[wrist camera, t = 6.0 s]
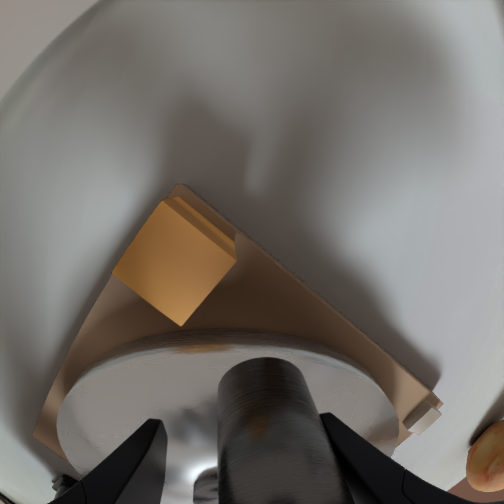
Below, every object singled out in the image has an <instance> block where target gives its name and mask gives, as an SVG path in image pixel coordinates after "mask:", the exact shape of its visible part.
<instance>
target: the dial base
mask: <svg viewBox="0 0 504 504" xmlns="http://www.w3.org/2000/svg"><path fill="white" fill-rule="evenodd" d="M112 274H113V275H112V276H111V278H110V279H109V281H108V283H107V284H106V286H105V287H104V289H103V291H102V292H101V294H100V296H99V297H98V299H97V301H96V302H95V304H94V306H93V307H92V309H91V311H90V313H89V314H88V316H87V318H86V320H85V321H84V323H83V325H82V327H81V329H80V331H79V332H78V334H77V336H76V338H75V340H74V342H73V344H72V346H71V348H70V349H69V351H68V353H67V355H66V357H65V359H64V361H63V363H62V366H61V368H60V370H59V372H58V374H57V376H56V378H55V380H54V383H53V385H52V387H51V389H50V391H49V394H48V396H47V398H46V401H45V403H44V405H43V408H42V410H41V413H40V415H39V418H38V420H37V423H36V426H35V428H34V431H33V434H32V436H33V437H34V438H35V439H36V440H38V441H39V442H40V443H42V444H43V445H44V446H46V447H47V448H49V449H50V450H52V451H53V452H54V453H56V454H57V455H59V456H60V457H62V458H63V459H65V460H66V461H68V459H67V457H66V455H65V454H64V452H63V450H62V447H61V445H60V442H59V439H58V434H57V416H58V412H59V410H60V407H61V405H62V402H63V401H64V399H65V397H66V396H67V394H68V393H69V391H70V390H71V388H72V386H73V385H74V383H75V382H76V380H77V379H78V378H79V376H80V375H81V374H82V373H83V371H84V370H85V369H86V368H87V366H89V365H90V364H91V363H92V362H94V361H95V360H96V359H97V358H99V357H100V356H101V355H103V354H105V353H107V352H109V351H110V350H112V349H114V348H116V347H118V346H120V345H123V344H126V343H128V342H131V341H134V340H137V339H140V338H143V337H147V336H152V335H157V334H161V333H166V332H170V331H180V330H189V329H198V328H241V329H254V330H266V331H272V332H277V333H283V334H289V335H295V336H298V337H301V338H305V339H308V340H312V341H315V342H319V343H322V344H324V345H326V346H329V347H331V348H333V349H335V350H338V351H340V352H342V353H344V354H345V355H347V356H348V357H350V358H352V359H353V360H355V361H356V362H358V363H359V364H360V365H361V366H362V367H363V368H365V369H366V370H367V371H368V372H369V373H370V374H371V375H372V377H373V378H374V380H375V381H376V382H377V384H378V385H379V386H380V388H381V389H382V391H383V392H384V393H385V395H386V396H387V397H388V399H389V400H390V402H391V403H392V405H393V406H394V408H395V410H396V413H397V416H398V419H399V436H398V441H397V445H396V447H397V446H398V445H400V444H401V443H402V442H403V441H404V440H406V439H407V438H408V437H409V436H410V435H411V434H412V433H414V434H417V435H421V434H422V433H423V432H424V431H425V430H426V429H427V428H428V427H429V426H430V425H431V424H433V423H434V422H435V421H436V420H437V419H438V418H439V417H440V416H441V415H442V414H441V413H440V412H439V411H438V409H439V408H440V407H441V406H442V405H443V403H442V402H441V401H440V399H439V398H438V397H437V396H436V395H435V394H434V393H433V392H432V391H431V390H430V389H429V388H428V387H426V386H425V385H424V384H423V383H422V382H421V381H419V380H418V379H417V378H416V377H415V376H414V375H412V374H411V373H410V372H409V371H408V370H407V369H406V368H404V367H403V366H402V365H401V364H400V363H399V362H397V361H396V360H395V359H394V358H393V357H391V356H390V355H389V354H388V353H387V352H386V351H384V350H383V349H382V348H381V347H380V346H379V345H377V344H376V343H375V342H374V341H373V340H372V339H370V338H369V337H368V336H367V335H366V334H364V333H363V332H362V331H361V330H360V329H359V328H357V327H356V326H355V325H354V324H353V323H351V322H350V321H349V320H348V319H347V318H346V317H344V316H343V315H342V314H341V313H340V312H338V311H337V310H336V309H335V308H334V307H332V306H331V305H330V304H329V303H328V302H327V301H325V300H324V299H323V298H322V297H321V296H319V295H318V294H317V293H316V292H315V291H313V290H312V289H311V288H310V287H309V286H307V285H306V284H305V283H304V282H303V281H301V280H300V279H299V278H298V277H297V276H295V275H294V274H293V273H292V272H291V271H289V270H288V269H287V268H286V267H285V266H283V265H282V264H281V263H280V262H279V261H277V260H276V259H275V258H274V257H273V256H271V255H270V254H269V253H268V252H267V251H265V250H264V249H263V248H262V247H260V246H259V245H258V244H257V243H256V242H254V241H253V240H252V239H251V238H250V237H248V236H247V235H246V234H245V233H243V232H242V231H241V230H240V229H239V228H237V227H236V226H235V225H234V224H233V223H231V222H230V221H229V220H228V219H226V218H225V217H224V216H223V215H222V214H220V213H219V212H218V211H217V210H215V209H214V208H213V207H212V206H211V205H209V204H208V203H207V202H206V201H204V200H203V199H202V198H201V197H199V196H198V195H197V194H196V193H195V192H193V191H192V190H191V189H190V188H188V187H187V186H186V185H185V184H177V185H176V186H175V187H174V189H173V190H172V191H171V192H170V194H169V195H168V196H167V198H166V199H165V200H162V201H161V202H160V203H159V205H158V206H157V207H156V209H155V210H154V211H153V213H152V214H151V215H150V217H149V218H148V219H147V221H146V222H145V224H144V225H143V226H142V228H141V229H140V231H139V232H138V233H137V235H136V236H135V238H134V239H133V241H132V242H131V244H130V245H129V247H128V248H127V250H126V251H125V253H124V254H123V256H122V257H121V259H120V260H119V262H118V263H117V265H116V266H115V268H114V269H113V271H112ZM396 447H395V448H396ZM68 462H69V461H68Z"/></svg>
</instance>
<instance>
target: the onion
mask: <svg viewBox="0 0 504 504" xmlns="http://www.w3.org/2000/svg"><path fill="white" fill-rule="evenodd" d="M466 476H467V480H468V482H469V483H470V484H471V486H472V487H473V488H474V489H477V490H479V491H485V492H492V491H498V490H501V489H504V420H501V421H499V422H496V423H494V424H492V425H491V426H489V427H488V428H487V429H486V430H485V432H484V433H483V434H482V435H481V436H480V437H479V438H478V439H477V441H476V442H475V443H474V444H473V445H472V447H471V448H470V449H469V451H468V457H467V464H466Z"/></svg>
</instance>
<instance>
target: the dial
mask: <svg viewBox="0 0 504 504" xmlns="http://www.w3.org/2000/svg"><path fill="white" fill-rule="evenodd" d="M326 412H331V413H332V414H334V415H335V416H336V417H337V418H338V419H340V420H341V421H342V422H344V423H345V424H346V425H347V426H349V427H350V428H351V429H352V430H354V431H355V432H356V433H358V434H359V435H360V436H361V437H363V438H364V439H365V440H367V441H368V442H369V443H371V444H372V445H373V446H375V447H376V448H377V449H379V450H380V451H381V452H383V453H384V454H386V455H387V456H388V457H390V458H391V456H392V454H393V452H394V450H395V447H396V445H397V441H398V436H399V419H398V416H397V413H396V410H395V408H394V406H393V405H392V403H391V402H390V400H389V399H388V397H387V396H386V395H385V393H384V392H383V391H382V389H381V388H380V386H379V385H378V384H377V382H376V381H375V380H374V378H373V377H372V375H371V374H370V373H369V372H368V371H367V370H366V369H365V368H363V367H362V366H361V365H360V364H359V363H358V362H356V361H355V360H353V359H352V358H350V357H348V356H347V355H345V354H344V353H342V352H340V351H338V350H335V349H333V348H331V347H329V346H326V345H324V344H322V343H319V342H315V341H312V340H308V339H305V338H301V337H298V336H295V335H289V334H283V333H277V332H272V331H266V330H254V329H241V328H198V329H189V330H180V331H170V332H166V333H161V334H157V335H152V336H147V337H143V338H140V339H137V340H134V341H131V342H128V343H126V344H123V345H120V346H118V347H116V348H114V349H112V350H110V351H109V352H107V353H105V354H103V355H101V356H100V357H99V358H97V359H96V360H95V361H94V362H92V363H91V364H90V365H89V366H87V368H86V369H85V370H84V371H83V373H82V374H81V375H80V376H79V378H78V379H77V380H76V382H75V383H74V385H73V386H72V388H71V390H70V391H69V393H68V394H67V396H66V397H65V399H64V401H63V402H62V405H61V407H60V410H59V412H58V416H57V434H58V439H59V442H60V445H61V447H62V450H63V452H64V454H65V455H66V457H67V459H68V461H69V462H70V463H71V465H72V466H73V467H74V469H75V470H76V471H77V472H78V473H79V475H80V476H81V477H82V478H83V477H85V476H86V475H87V474H88V473H89V472H90V471H91V470H93V469H94V468H95V467H96V466H97V465H98V464H99V463H101V462H102V461H103V460H104V459H105V458H106V457H107V456H108V455H110V454H111V453H112V452H113V451H114V450H115V449H116V448H117V447H118V446H119V445H121V444H122V443H123V442H124V441H125V440H126V439H127V438H128V437H129V436H130V435H131V434H133V433H134V432H135V431H136V430H137V429H138V428H139V427H140V426H141V425H142V424H143V423H144V422H145V421H146V420H147V419H149V418H154V419H161V420H162V421H163V424H164V427H165V430H166V433H167V437H168V445H167V457H166V472H165V481H164V487H163V492H162V497H161V502H160V504H355V502H354V499H353V497H352V494H351V492H350V489H349V487H348V484H347V482H346V480H345V477H344V475H343V472H342V470H341V467H340V465H339V462H338V460H337V457H336V455H335V452H334V450H333V447H332V445H331V442H330V440H329V438H328V435H327V433H326V430H325V428H324V425H323V423H322V420H321V418H320V415H319V414H320V413H326Z"/></svg>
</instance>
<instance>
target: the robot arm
mask: <svg viewBox="0 0 504 504" xmlns="http://www.w3.org/2000/svg"><path fill="white" fill-rule="evenodd" d="M319 415H320V418H321V420H322V423H323V425H324V428H325V430H326V433H327V435H328V438H329V440H330V442H331V445H332V447H333V450H334V452H335V455H336V457H337V460H338V462H339V465H340V467H341V470H342V472H343V475H344V477H345V480H346V482H347V484H348V487H349V489H350V492H351V494H352V497H353V499H354V502H355V504H504V501H497V502H489V503H478V502H472V501H469V500H466V499H463V498H460V497H458V496H456V495H453V494H451V493H449V492H446V491H444V490H442V489H440V488H438V487H436V486H434V485H432V484H430V483H428V482H426V481H424V480H423V479H421V478H419V477H418V476H416V475H414V474H413V473H411V472H410V471H409V470H407V469H405V468H404V467H403V466H401V465H400V464H398V463H397V462H395V461H394V460H393V459H391V458H390V457H388V456H387V455H386V454H384V453H383V452H381V451H380V450H379V449H377V448H376V447H375V446H373V445H372V444H371V443H369V442H368V441H367V440H365V439H364V438H363V437H361V436H360V435H359V434H358V433H356V432H355V431H354V430H352V429H351V428H350V427H349V426H347V425H346V424H345V423H344V422H342V421H341V420H340V419H338V418H337V417H336V416H335V415H334V414H332V413H331V412H326V413H320V414H319ZM167 445H168V437H167V433H166V430H165V427H164V424H163V421H162V420H161V419H154V418H149V419H147V420H146V421H145V422H144V423H143V424H142V425H141V426H140V427H139V428H138V429H137V430H136V431H135V432H134V433H133V434H131V435H130V436H129V437H128V438H127V439H126V440H125V441H124V442H123V443H122V444H121V445H119V446H118V447H117V448H116V449H115V450H114V451H113V452H112V453H111V454H110V455H108V456H107V457H106V458H105V459H104V460H103V461H102V462H101V463H99V464H98V465H97V466H96V467H95V468H94V469H93V470H91V471H90V472H89V473H88V474H87V475H86V476H85V477H83V478H82V480H80V481H79V482H76V481H74V480H73V479H71V478H69V477H68V476H66V475H61V477H60V478H59V479H58V480H57V481H56V482H55V483H54V485H53V487H52V488H53V489H54V490H55V491H57V493H56V495H55V498H54V500H53V501H51V502H50V503H48V504H160V502H161V497H162V492H163V487H164V481H165V472H166V457H167Z"/></svg>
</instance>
